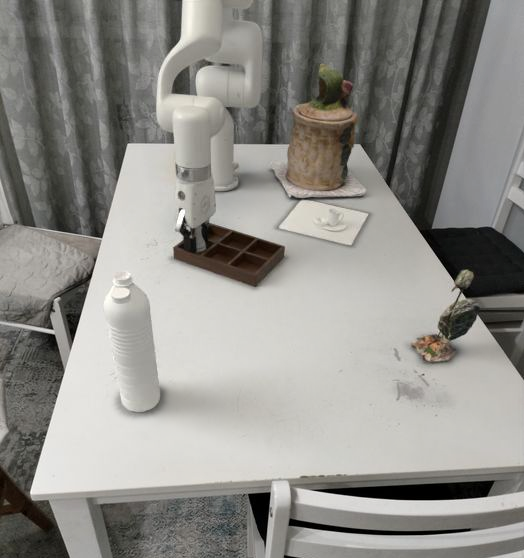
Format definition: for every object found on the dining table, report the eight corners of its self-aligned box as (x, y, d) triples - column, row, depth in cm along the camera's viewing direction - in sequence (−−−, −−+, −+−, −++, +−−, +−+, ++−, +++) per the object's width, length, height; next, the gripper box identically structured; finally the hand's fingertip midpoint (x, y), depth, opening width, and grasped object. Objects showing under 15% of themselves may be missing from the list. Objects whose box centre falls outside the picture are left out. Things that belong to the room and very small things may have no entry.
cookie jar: (288, 200, 145) (300, 77, 124) (268, 168, 163) (275, 56, 142) (368, 196, 150) (391, 78, 129) (339, 165, 168) (356, 57, 147)
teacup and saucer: (310, 227, 134) (312, 213, 131) (319, 215, 140) (321, 201, 137) (342, 235, 132) (344, 220, 129) (349, 222, 138) (352, 208, 135)
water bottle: (122, 386, 87) (99, 262, 71) (160, 383, 88) (146, 261, 72) (119, 425, 81) (93, 299, 64) (160, 421, 82) (145, 297, 65)
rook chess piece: (209, 246, 120) (208, 215, 115) (201, 255, 117) (200, 224, 112) (192, 242, 121) (190, 211, 116) (183, 251, 118) (182, 220, 112)
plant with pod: (473, 360, 97) (513, 273, 84) (419, 365, 95) (452, 277, 82) (454, 334, 103) (488, 248, 90) (403, 338, 101) (430, 251, 88)
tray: (207, 233, 129) (207, 222, 127) (284, 257, 122) (285, 246, 120) (173, 258, 119) (173, 247, 117) (255, 287, 112) (255, 275, 110)
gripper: (185, 188, 99) (189, 267, 112) (228, 162, 111) (228, 235, 123) (154, 179, 102) (162, 257, 114) (200, 154, 113) (202, 227, 125)
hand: (196, 245), depth 118 cm, fingers closed on rook chess piece, 4 cm apart
